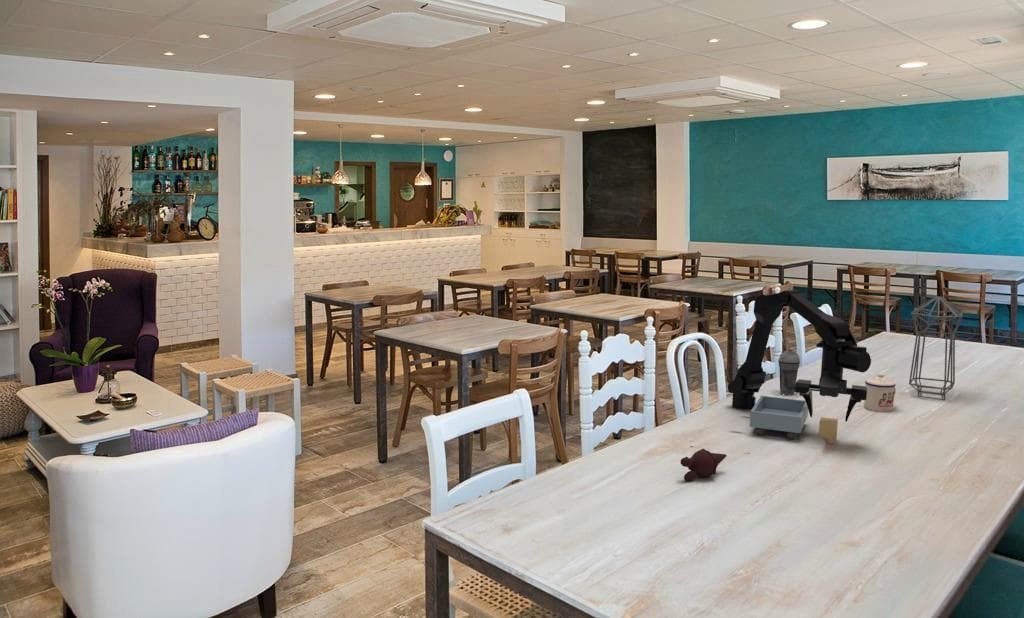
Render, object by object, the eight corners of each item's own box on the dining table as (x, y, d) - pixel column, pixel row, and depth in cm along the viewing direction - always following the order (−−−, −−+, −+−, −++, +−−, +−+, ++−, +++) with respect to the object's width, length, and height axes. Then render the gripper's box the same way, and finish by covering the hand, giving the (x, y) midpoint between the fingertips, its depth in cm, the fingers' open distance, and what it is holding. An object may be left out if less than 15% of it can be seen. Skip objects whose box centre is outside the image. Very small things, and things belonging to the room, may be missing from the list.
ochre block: (818, 441, 224) (819, 420, 224) (819, 437, 228) (821, 416, 228) (835, 443, 222) (836, 423, 222) (836, 439, 226) (837, 419, 226)
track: (723, 437, 227) (723, 432, 227) (737, 418, 247) (737, 414, 247) (796, 447, 219) (797, 442, 218) (805, 426, 238) (805, 422, 238)
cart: (749, 434, 225) (750, 411, 224) (760, 417, 243) (761, 395, 242) (799, 441, 219) (801, 417, 218) (807, 423, 237) (808, 401, 236)
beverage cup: (799, 397, 273) (803, 340, 270) (777, 395, 274) (780, 339, 272) (796, 392, 280) (800, 336, 277) (775, 390, 282) (778, 335, 279)
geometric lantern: (954, 404, 265) (964, 300, 260) (902, 397, 273) (910, 297, 268) (957, 394, 278) (966, 295, 273) (907, 388, 286) (915, 292, 281)
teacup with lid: (881, 413, 253) (883, 378, 251) (856, 406, 261) (859, 372, 259) (905, 409, 259) (908, 374, 257) (881, 402, 267) (883, 368, 265)
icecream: (712, 441, 203) (669, 456, 195) (734, 441, 197) (690, 457, 189) (718, 467, 203) (675, 484, 195) (739, 469, 197) (696, 486, 189)
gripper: (793, 367, 219) (790, 421, 221) (867, 374, 211) (863, 431, 213) (798, 359, 229) (795, 412, 231) (869, 366, 221) (864, 420, 223)
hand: (828, 419), depth 225 cm, fingers open, 9 cm apart
